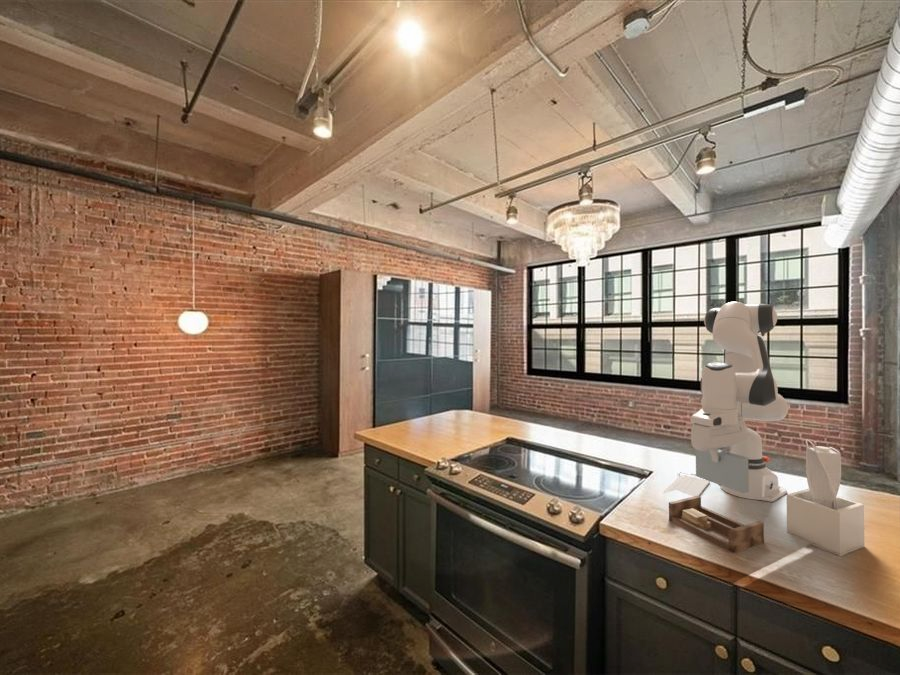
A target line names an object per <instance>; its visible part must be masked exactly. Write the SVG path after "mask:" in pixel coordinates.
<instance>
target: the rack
mask: <svg viewBox="0 0 900 675" xmlns="http://www.w3.org/2000/svg"><path fill="white" fill-rule="evenodd" d="M691 508H693V509H695V510H697V511H699V512H701V513H703V514H705V515H707V521H709V522H711V530H713V531H716V532H718V533H720V534H723V535H725V536H726V537H727V538H728V540H725V539H723V538H721V537H718V536H717V535H715V534H713V533H711V532H710V531H709V532H708V530H706V531H705V530H703V529H701V528H699V527H697V526H695V525H693V524H691V523H688V522H686V521H684V520H682V519H681V516H682V510H686V509H691ZM668 521H670V522H672V523H674V524H676V525H678V526H680V527H682V528H684V529H685V530H688V531H690V532H692V533H693V534H695V535H698V536H700V537H701V538H703V539H705V540H707V541H709V542H711V543H713V544H715V545H717V546H718V547H721V548H723V549H725V550H727V551H729V552H731V553H733V554H734V553H737V552H740V551H742V550H743V551H744V550H746V549H749V548H752V547H755V546H757V545H758V546H759V545H761V544H763V543H765V529H764V527H765V526H764V522H762V521H760V520H758V521H754V522H751V523H748V524H743V523H742V522H738V520H737V521H736V520H734V519H732V518H730V517H727V516H725V515H722V514H720V513H718V512H717V511H713V510H711V509H709V508H707V507H704V506H702V497H701V495H700V496H689V497H687V498H686V497H685V498H682V499H679V500H678V499H677V500H673V501H670V502H668Z"/></svg>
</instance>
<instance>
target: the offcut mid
mask: <svg viewBox="0 0 900 675" xmlns="http://www.w3.org/2000/svg"><path fill="white" fill-rule="evenodd" d="M681 519H682V520H684V521H686V522H688V523H691V524H693V525H695V526H697V527H699V528H701V529H703V530H705V531H708V530H712V528H711V522H709V521H707V522H705V523H700V524H695V523H694V522H692V521H690V520H688V519H686V518H684V517H683V516H681Z"/></svg>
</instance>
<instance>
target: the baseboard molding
mask: <svg viewBox="0 0 900 675" xmlns="http://www.w3.org/2000/svg"><path fill="white" fill-rule="evenodd" d="M681 473H682V471H680V473H678V477H677V478H676V479H675V480H674V481H673V482H672V483H671V484H670V485H669V486H668V487H667V488H666V489H665V490H664V491H663V492H662V493H661V494H662V495H664V494H666V493H670V492H673V491H679V492H681V493H683V494H686V495H688V496H690V497H694V496H700V497H701V495H702V494H703V492H704V491H705V490H706V488H707V487H708V486H709V484H710V483H711V482H710V481H708V480H705V479H702V478H699V477H696V473H695V474H692V476H691V474H688V475H690V476H688V475H687V474H686V473H684V472H683V474H684V475H681ZM685 474H686V475H685ZM693 476H694V477H693Z"/></svg>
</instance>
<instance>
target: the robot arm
mask: <svg viewBox="0 0 900 675" xmlns="http://www.w3.org/2000/svg"><path fill="white" fill-rule="evenodd" d="M777 322H778V314H777V311H776V309H774V306H772V305H771V304H768V303H759V304H749V303H748V304H745V303H743V302H740V301H730V302H729V301H728V302H727V303H724V304H722V306H720V307H714V308H711V309H708V310H707V312H706V313H705V316H704V320H703V323H704V325H705V326H704V327H705V329H706V330H707V331H708V332H709V333H710V334H712V339H713V341H714V343H715V344H716V345H717V346H718V347H719V348H721V349H723V350H725V351H724V362H723V361H721V362H720V361H719V362H718V361H717V362H715V361H714V362H709V363H706V364H705V365H704V366H703V370H702V375H701V376H702V377H701V378H700V393H701V394H702V398H701V408H700V409H699V410H698V411H697V412H695V413H693V414H692V415H691V416H690V422H691V423H692V425H691V429H690V438H691V439H690V441H691V442H690V444H691V446H692V448H693V449H698V450H701V451H707V450H709V452H710V454H711V455H712V461H713V462H720V461H721V460H720V459H721V456H718V453H717V452H718V450H719V449H722V451H725V452H729V453H733V454H736V455H740V456H743V457H747V458H748V470H749V492H747V493H740V492H738V491H735V490H732V489H729V488H727V487H724V486H721V485H720V489H722V490H723V491H724V492H726V493H727V494H730V495H732V496H736V497H740V498H743V499H749V500H758V501H763V502H771V503H773V502H775V501H777V500H778V499H780V498H781V497H783V496H784V495H785V494H786V495H787V493H788V490H787V489H786V488H784V487H782V486H780V485H779V477H778V475H776V474H775V472H772V470H770V469H769V468H768V467H767V465H766V464H767V463H769V462H770V460H771V459H770V457H769V456H765V455H763V439H762V437H761V435H760V434H759V433H758V432H757V431H755V430H754V429H752V428H749V427H747V425H746V422H745V420H749V421H758V422H777V421H780V422H781V421H782V420H783V419H784V418H785V417H786V416H787V415H788V413H789V404H788V402H787V400H786V398H784V397H783V395H781V394H780V393H778V392H779V391H778V390H779V388H778V384H777V382H776V379H775V378H774V375H773V372H772V368H771V362H770V359H769V355H768V351H767V348H766V344H765V341H764V339H763V338H762V337H765V334H767V333H769V332H771V331H772V330H773V329H774V328H775V326H776V324H777ZM759 334H760V335H761V336H760V335H759Z"/></svg>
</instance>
